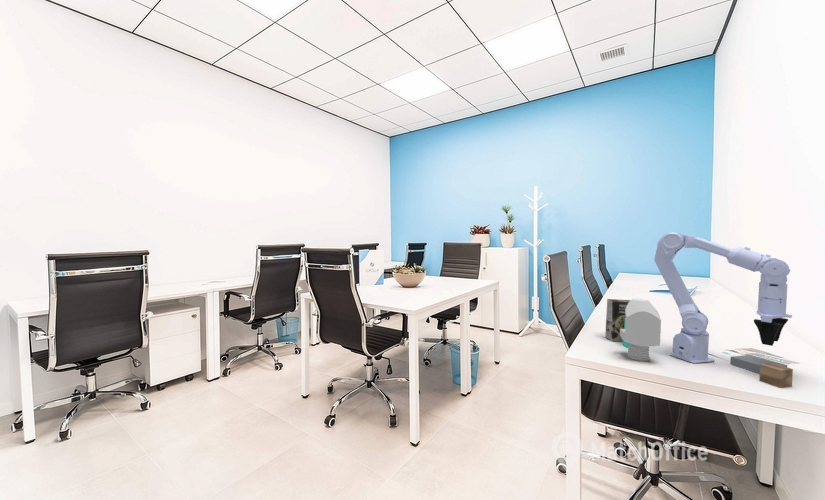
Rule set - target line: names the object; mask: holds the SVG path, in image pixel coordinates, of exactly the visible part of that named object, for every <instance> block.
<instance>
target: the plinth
mask: <svg viewBox="0 0 825 500" xmlns="http://www.w3.org/2000/svg"><path fill="white" fill-rule="evenodd" d="M729 361H730V363H729V364H730V365H731V364H732V365H731V366H734V365H735V367H738V368H741V367H742V368H741V369H744V368H746V369H745V370H747V369H748V371H750V370H751V371H750V372H753V373H757V374H758V375H760V364H766V363H773V364H777V365H780V366H784V367H787V368H788V364H784V363H781V362H778V361H775V360H770V359H767V358H763V357H759V356H756V355H752V354H744V355H734V356H733V355H731V356H730V360H729Z"/></svg>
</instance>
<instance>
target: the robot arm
mask: <svg viewBox="0 0 825 500" xmlns="http://www.w3.org/2000/svg"><path fill="white" fill-rule="evenodd" d="M656 245H657V246H656V250H655V255H654V258H653V259H654V264H655V265H656V266H657V268H658V271H659V273H660V274H661V276H662V278H663V280H664V282H665V284H666V286H667V288H668V290H669V292H670V294H671V296H672V299H673V300H674V302H675V304H676V305H677V308H678V311H679V314H680V317H681V325H682V328H680V332H679V333H676V334H675V335H674V336H673V339H672V353H669V355H670V356H672V357H675V358H677V359H681V360H683V361H687V362H689V363H692V364H701V363H711V362H715V361H716V359H713V358H710V357H709V346H710V345H709V339H710V332H708V331H707V329H708V324H709V319H708V317H707V315H706V314H705V313H703V312H701V310H700V309H699V307H698V306H697V304H696V303H695V301H694V300H693V298H692V295H691V293H690V291H689V289H688V288H687V286H686V284H685V282H684V281H683V279H682V277H681V275H680V273H679V271H678V269H677V267H676V266H675V263H674V261H673V260H674V258H675V257H676V255H677V253H678V252H679V251H680V250H682V249H683V248H684V249H693V248H694V249H699V250H703V251H706V252H708V253H712V254H714V255H718V256H720V257H724V258H726V259H727V262H728V263H729V264H731V265H734V266H736V267H740V268H742V269H745V270H748V271H751V272H759V273H760V281H759V282H758V297H757V299H758V301H757V310H756V314H757V315H758V316H760V319H759V318H758V319H757V318H755V319H753V323H754V325H755V326H756V328H757V331H758V333H759V338H760V341H761V344H762V345H765V346H774V343H775V342H779V339H780V337H781V333H782V331H783V328H784V327H785V325H786V324H787V322H788V321H789V319H791V318H793V315H792V314H788V313H787V298H788V284H787V282H788V276H789V274H790V273H791V269H790V267H789V265H788V264H787V262H785V261H783V260H781V259H779V258H778V257H777V258H776V257H772V255H771V254H768V253H766V254H763V253H760V252H756V251H753V250H751V248H750V247H747V246H744V247H741V246H738V247H734V248H729V247H727V246H724V245H721V244H718V243H716V242H714V241H710V240H707V239H705V238H702V237H698V236H696V235H691V234H690V235H689V234H684V233H683V234H682V233H679V232H676V231H668V232H666V233H664V234H663V235H662V236H661V237H660V239H659V240H658V241H657V244H656Z"/></svg>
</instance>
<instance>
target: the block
mask: <svg viewBox="0 0 825 500" xmlns="http://www.w3.org/2000/svg"><path fill="white" fill-rule="evenodd" d="M793 372H794V369H793V368H790V367H788V366H787V367H784V366H780V365H777V364H773V363H766V364H760V374H759V382H762V383H765V384H767V385H771V386H773V387H777V388H779V389H783V388H791V387H793V374H794V373H793Z"/></svg>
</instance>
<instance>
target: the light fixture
mask: <svg viewBox="0 0 825 500" xmlns="http://www.w3.org/2000/svg"><path fill="white" fill-rule="evenodd" d="M630 300H631V301H630V302H629V303H628V305H627V307H626V309H625V315H626V329H620V336H621V338H622V340H623V341H624V342H627V343H629V344H628V347H627V358H630V359H631V360H635V361H638V362H640V361H641V362H647V361H649V358H650V347H659V346H661V332H662V331H661V330H662V318H661V315H660V313H659V311H658V310H657V309H656V307H655V306H654V305H653V304H652V303H651V301H649V300H648V299H643V298H631V299H630ZM624 342H623V343H624Z"/></svg>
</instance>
